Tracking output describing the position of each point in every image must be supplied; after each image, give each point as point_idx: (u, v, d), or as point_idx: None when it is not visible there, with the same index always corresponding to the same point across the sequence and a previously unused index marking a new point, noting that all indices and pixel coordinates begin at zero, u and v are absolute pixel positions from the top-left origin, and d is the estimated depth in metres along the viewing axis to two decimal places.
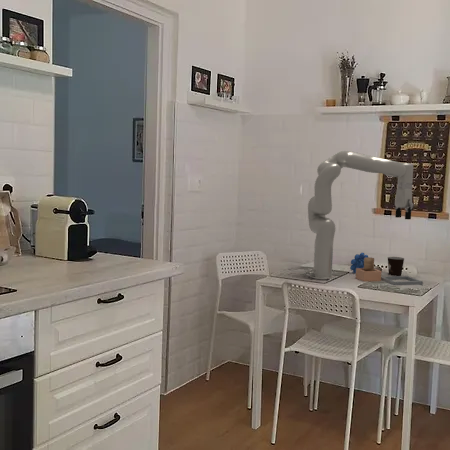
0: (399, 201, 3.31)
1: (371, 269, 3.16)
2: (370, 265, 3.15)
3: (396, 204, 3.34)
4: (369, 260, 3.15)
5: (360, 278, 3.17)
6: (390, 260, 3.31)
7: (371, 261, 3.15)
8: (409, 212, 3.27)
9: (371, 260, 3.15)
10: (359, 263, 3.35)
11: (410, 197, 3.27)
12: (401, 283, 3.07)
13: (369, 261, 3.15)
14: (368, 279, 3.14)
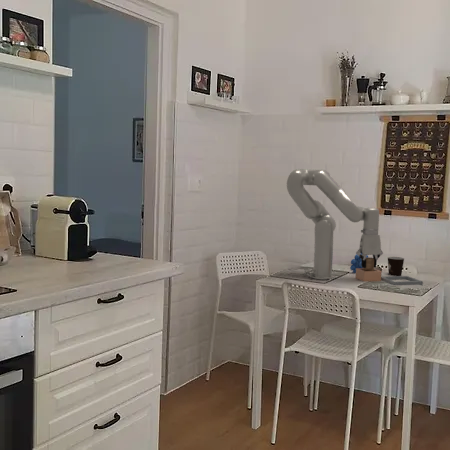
0: (372, 248, 3.14)
1: (371, 269, 3.16)
2: (370, 265, 3.15)
3: (367, 252, 3.14)
4: (369, 260, 3.15)
5: (360, 278, 3.17)
6: (390, 260, 3.31)
7: (371, 261, 3.15)
8: None
9: (371, 260, 3.15)
10: (359, 263, 3.35)
11: None
12: (401, 283, 3.07)
13: (369, 261, 3.15)
14: (368, 279, 3.14)
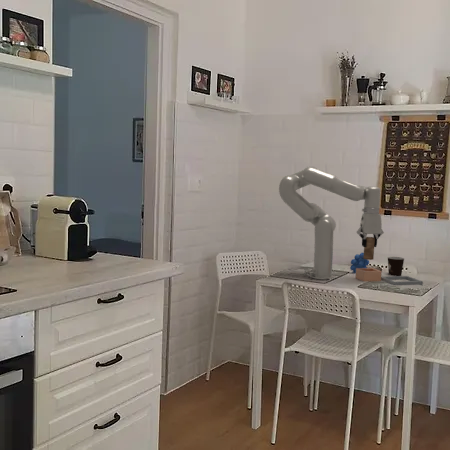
0: (373, 227, 3.13)
1: (371, 248, 3.15)
2: (371, 244, 3.14)
3: (368, 231, 3.13)
4: (370, 239, 3.14)
5: (360, 278, 3.17)
6: (390, 260, 3.31)
7: (372, 240, 3.14)
8: None
9: (372, 239, 3.14)
10: (359, 263, 3.35)
11: None
12: (401, 283, 3.07)
13: (369, 241, 3.14)
14: (368, 279, 3.14)
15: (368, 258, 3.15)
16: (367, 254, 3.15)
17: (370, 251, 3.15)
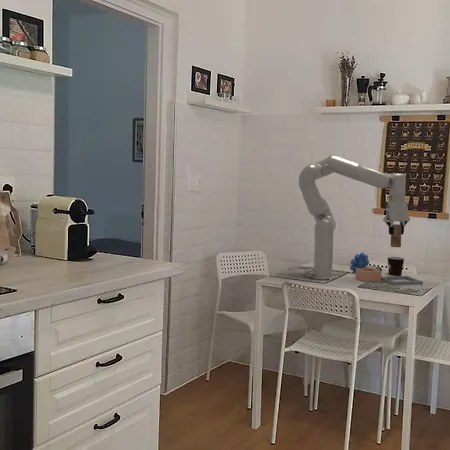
0: (400, 214, 3.09)
1: (399, 236, 3.11)
2: (398, 232, 3.10)
3: (394, 218, 3.09)
4: (396, 226, 3.10)
5: (360, 278, 3.17)
6: (390, 260, 3.31)
7: (398, 227, 3.10)
8: None
9: (398, 226, 3.10)
10: (359, 263, 3.35)
11: None
12: (401, 283, 3.07)
13: (396, 228, 3.10)
14: (368, 279, 3.14)
15: (396, 246, 3.11)
16: (394, 242, 3.11)
17: (397, 238, 3.11)
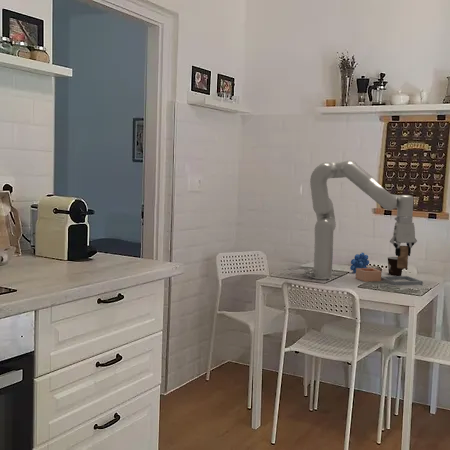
0: (407, 236, 3.09)
1: (405, 257, 3.11)
2: (405, 253, 3.10)
3: (401, 240, 3.09)
4: (403, 248, 3.10)
5: (360, 278, 3.17)
6: (390, 260, 3.31)
7: (405, 249, 3.10)
8: None
9: (405, 248, 3.10)
10: (359, 263, 3.35)
11: None
12: (401, 283, 3.07)
13: (403, 249, 3.10)
14: (368, 279, 3.14)
15: (402, 267, 3.11)
16: (401, 263, 3.11)
17: (404, 260, 3.11)
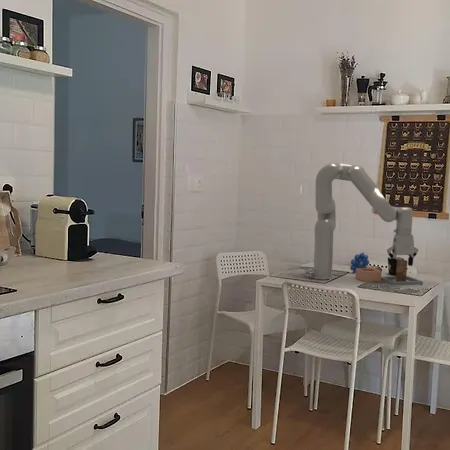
0: (406, 248, 3.10)
1: (404, 272, 3.12)
2: (403, 268, 3.11)
3: (400, 252, 3.10)
4: (402, 263, 3.11)
5: (360, 278, 3.17)
6: (390, 260, 3.31)
7: (404, 264, 3.11)
8: None
9: (404, 263, 3.11)
10: (359, 263, 3.35)
11: None
12: (401, 283, 3.07)
13: (402, 264, 3.11)
14: (368, 279, 3.14)
15: None
16: (400, 278, 3.12)
17: (403, 275, 3.12)
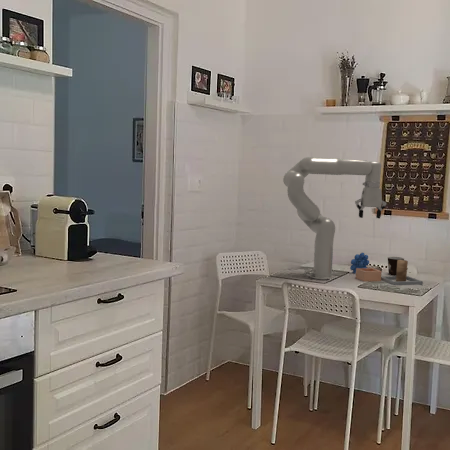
0: (373, 201, 3.23)
1: (404, 272, 3.12)
2: (404, 268, 3.11)
3: (368, 204, 3.22)
4: (402, 263, 3.11)
5: (360, 278, 3.17)
6: (390, 260, 3.31)
7: (404, 264, 3.11)
8: None
9: (404, 263, 3.11)
10: (359, 263, 3.35)
11: None
12: (401, 283, 3.07)
13: (402, 264, 3.11)
14: (368, 279, 3.14)
15: None
16: (400, 277, 3.12)
17: (403, 274, 3.12)
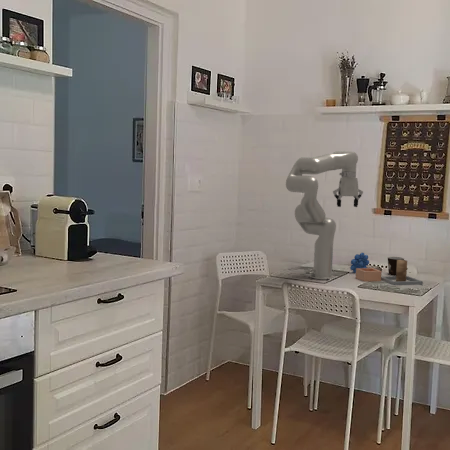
0: (350, 190, 3.34)
1: (404, 272, 3.12)
2: (403, 268, 3.11)
3: (345, 193, 3.33)
4: (402, 263, 3.11)
5: (360, 278, 3.17)
6: (390, 260, 3.31)
7: (404, 264, 3.11)
8: None
9: (404, 263, 3.11)
10: (359, 263, 3.35)
11: None
12: (401, 283, 3.07)
13: (402, 264, 3.11)
14: (368, 279, 3.14)
15: None
16: (399, 278, 3.12)
17: (402, 275, 3.12)
